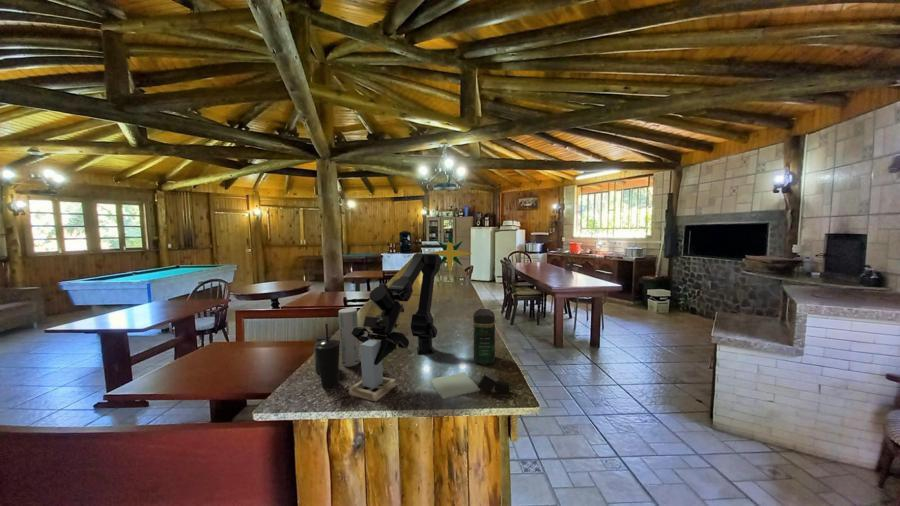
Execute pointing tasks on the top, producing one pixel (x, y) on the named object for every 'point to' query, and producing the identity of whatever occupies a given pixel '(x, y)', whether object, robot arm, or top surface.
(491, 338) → the coffee jar
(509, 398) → the top surface
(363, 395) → the pocket
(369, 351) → the post
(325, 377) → the drinking cup
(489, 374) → the lighter
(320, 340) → the supplement bottle
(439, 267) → the robot arm
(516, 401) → the top surface
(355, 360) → the spray can
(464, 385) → the mat
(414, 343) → the top surface
